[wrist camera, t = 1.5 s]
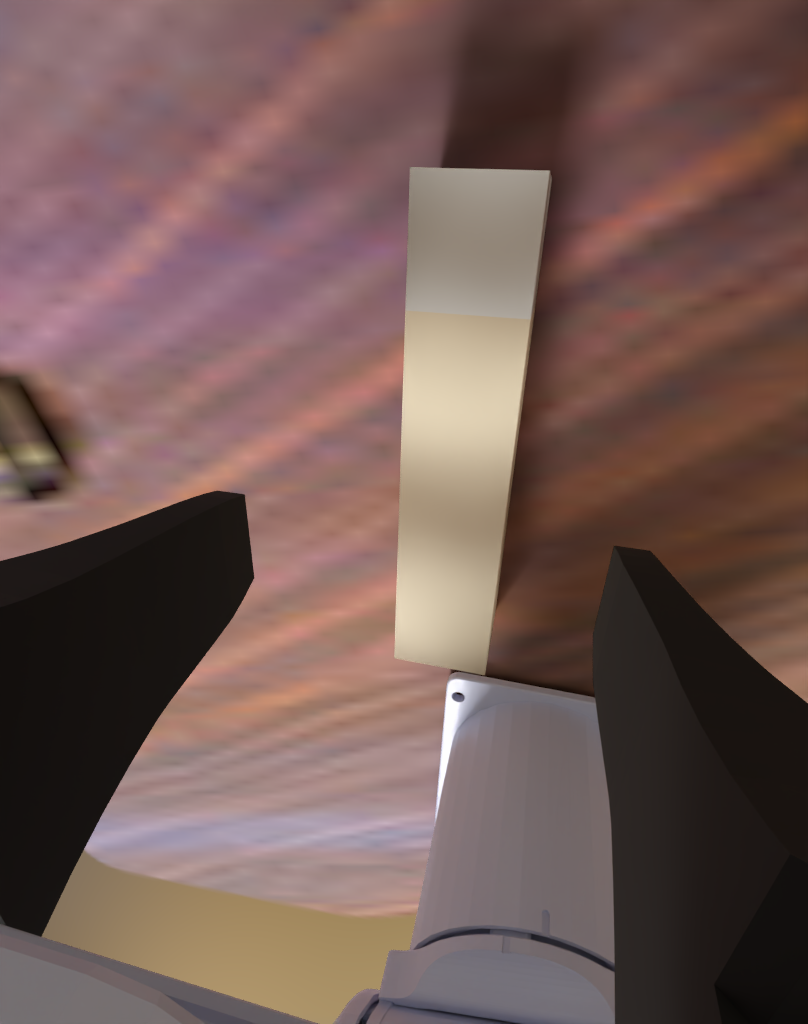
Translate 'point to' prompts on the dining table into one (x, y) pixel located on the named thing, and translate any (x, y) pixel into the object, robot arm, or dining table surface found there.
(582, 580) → the dining table surface
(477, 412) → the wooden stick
